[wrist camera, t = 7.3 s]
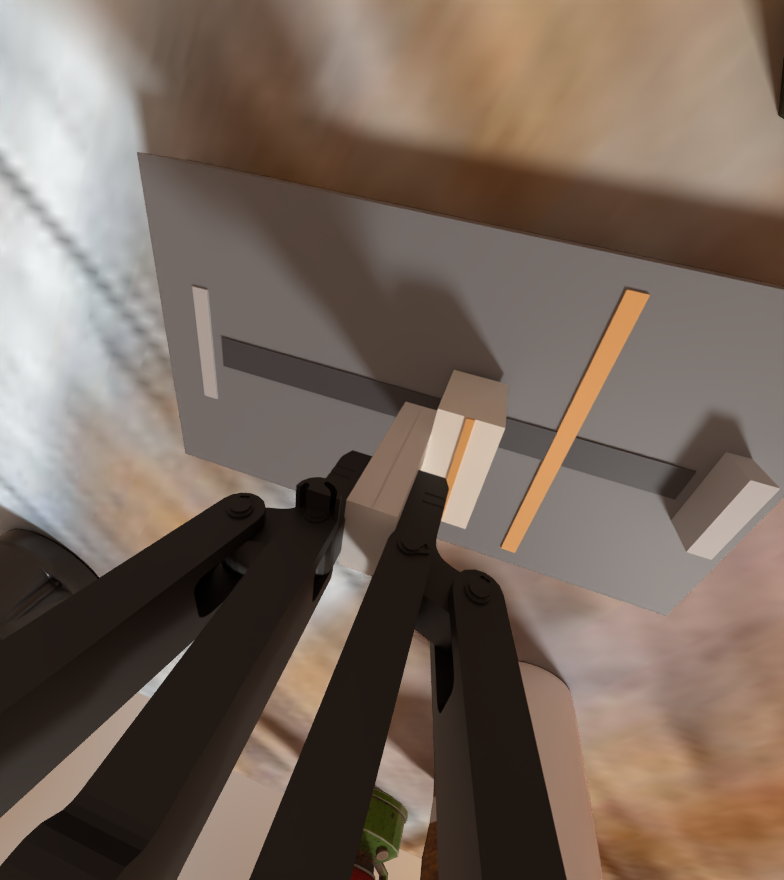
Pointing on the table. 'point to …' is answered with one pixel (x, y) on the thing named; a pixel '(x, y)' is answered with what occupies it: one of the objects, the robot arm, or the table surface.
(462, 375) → the fader
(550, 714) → the candle holder
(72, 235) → the table surface
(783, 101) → the wine bottle
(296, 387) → the panel
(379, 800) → the lantern
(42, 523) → the table surface
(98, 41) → the table surface
